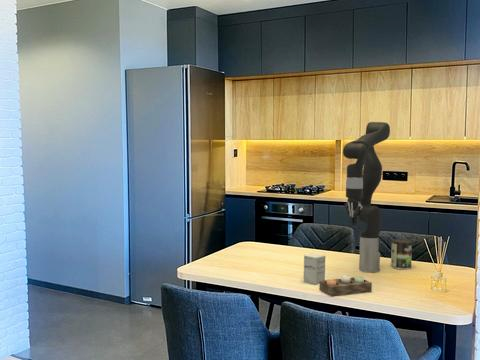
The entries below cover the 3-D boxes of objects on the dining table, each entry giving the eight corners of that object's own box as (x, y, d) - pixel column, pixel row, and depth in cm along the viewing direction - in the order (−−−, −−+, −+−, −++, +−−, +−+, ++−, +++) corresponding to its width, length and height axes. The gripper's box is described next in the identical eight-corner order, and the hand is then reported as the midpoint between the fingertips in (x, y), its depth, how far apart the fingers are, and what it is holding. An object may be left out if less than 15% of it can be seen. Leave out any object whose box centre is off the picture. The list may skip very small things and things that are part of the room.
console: (358, 285, 217) (358, 276, 216) (371, 291, 207) (371, 282, 207) (319, 289, 210) (319, 280, 210) (331, 296, 201) (331, 287, 200)
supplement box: (302, 281, 223) (303, 254, 222) (312, 278, 228) (313, 252, 227) (315, 285, 217) (316, 257, 216) (325, 281, 223) (325, 255, 222)
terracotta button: (332, 286, 209) (333, 279, 208) (337, 289, 205) (337, 281, 205) (324, 287, 207) (325, 280, 207) (329, 289, 204) (329, 282, 203)
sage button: (360, 283, 213) (360, 276, 213) (365, 285, 210) (365, 278, 209) (352, 284, 212) (352, 277, 212) (357, 286, 208) (357, 279, 208)
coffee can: (415, 267, 249) (416, 240, 248) (404, 270, 243) (405, 243, 242) (397, 263, 257) (398, 237, 256) (386, 266, 251) (387, 240, 250)
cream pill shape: (346, 281, 211) (347, 274, 211) (351, 284, 207) (352, 277, 207) (338, 282, 210) (339, 275, 209) (343, 285, 206) (344, 277, 206)
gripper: (369, 188, 213) (369, 226, 215) (353, 185, 226) (352, 222, 227) (355, 188, 211) (354, 227, 212) (339, 186, 223) (338, 223, 224)
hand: (353, 224), depth 219 cm, fingers closed
